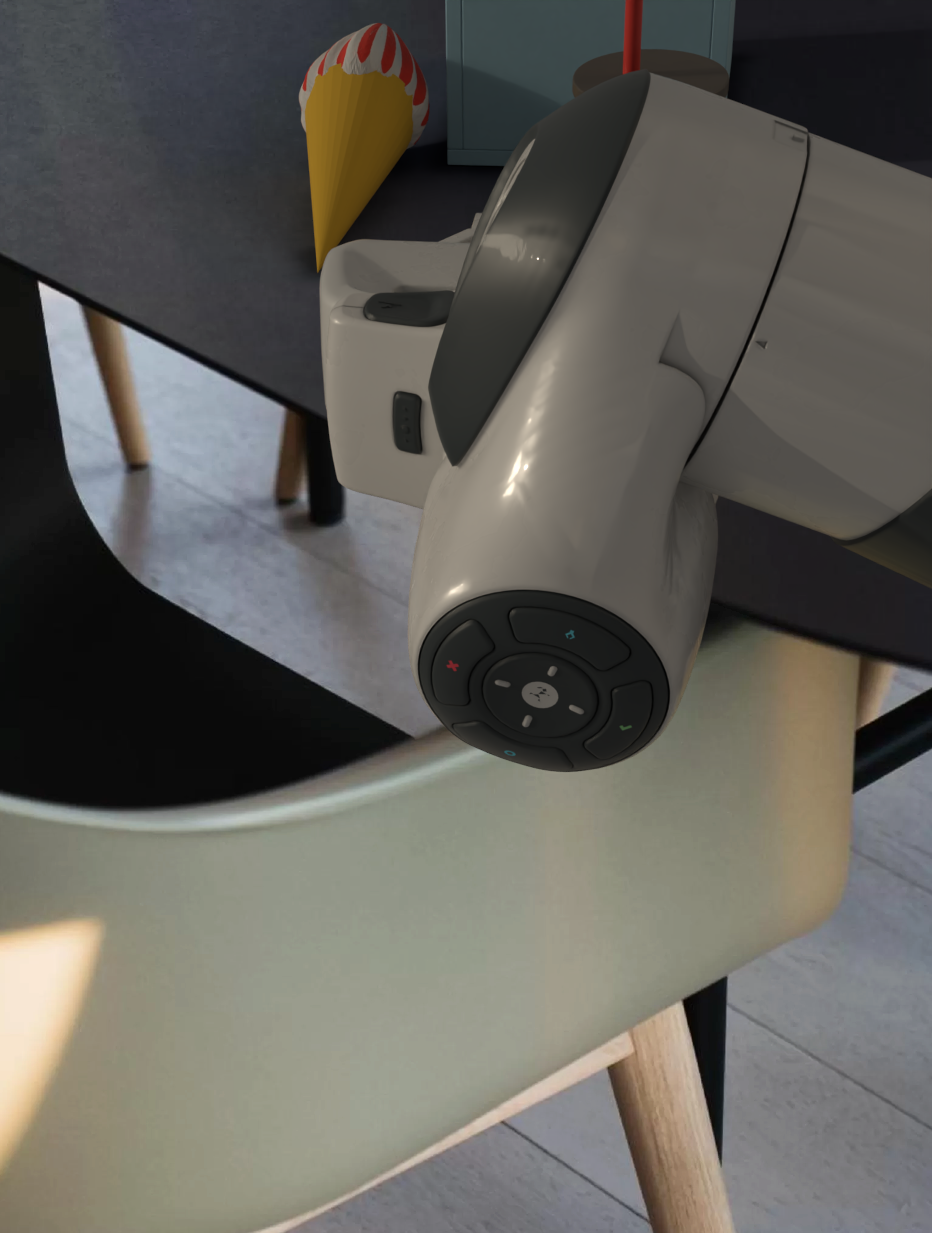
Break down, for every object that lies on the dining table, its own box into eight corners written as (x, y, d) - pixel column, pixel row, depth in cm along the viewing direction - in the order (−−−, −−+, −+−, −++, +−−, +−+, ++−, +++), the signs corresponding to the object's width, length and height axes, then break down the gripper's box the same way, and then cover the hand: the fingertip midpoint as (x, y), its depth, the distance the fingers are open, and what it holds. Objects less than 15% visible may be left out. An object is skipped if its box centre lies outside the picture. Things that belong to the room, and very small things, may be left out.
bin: (731, 58, 120) (743, -111, 115) (719, 171, 109) (731, -11, 103) (485, 54, 122) (485, -113, 117) (447, 164, 111) (445, -15, 105)
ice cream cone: (305, 347, 106) (372, 98, 117) (409, 293, 102) (468, 41, 113) (222, 256, 102) (300, 9, 113) (327, 196, 98) (396, -53, 110)
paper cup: (715, 286, 99) (744, -120, 88) (708, 351, 94) (738, -69, 83) (573, 282, 100) (584, -121, 89) (559, 346, 95) (569, -71, 84)
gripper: (933, 337, 67) (921, 161, 78) (280, 311, 71) (352, 145, 81) (906, 516, 71) (899, 326, 82) (291, 484, 75) (358, 305, 85)
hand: (622, 236), depth 81 cm, fingers open, 8 cm apart
